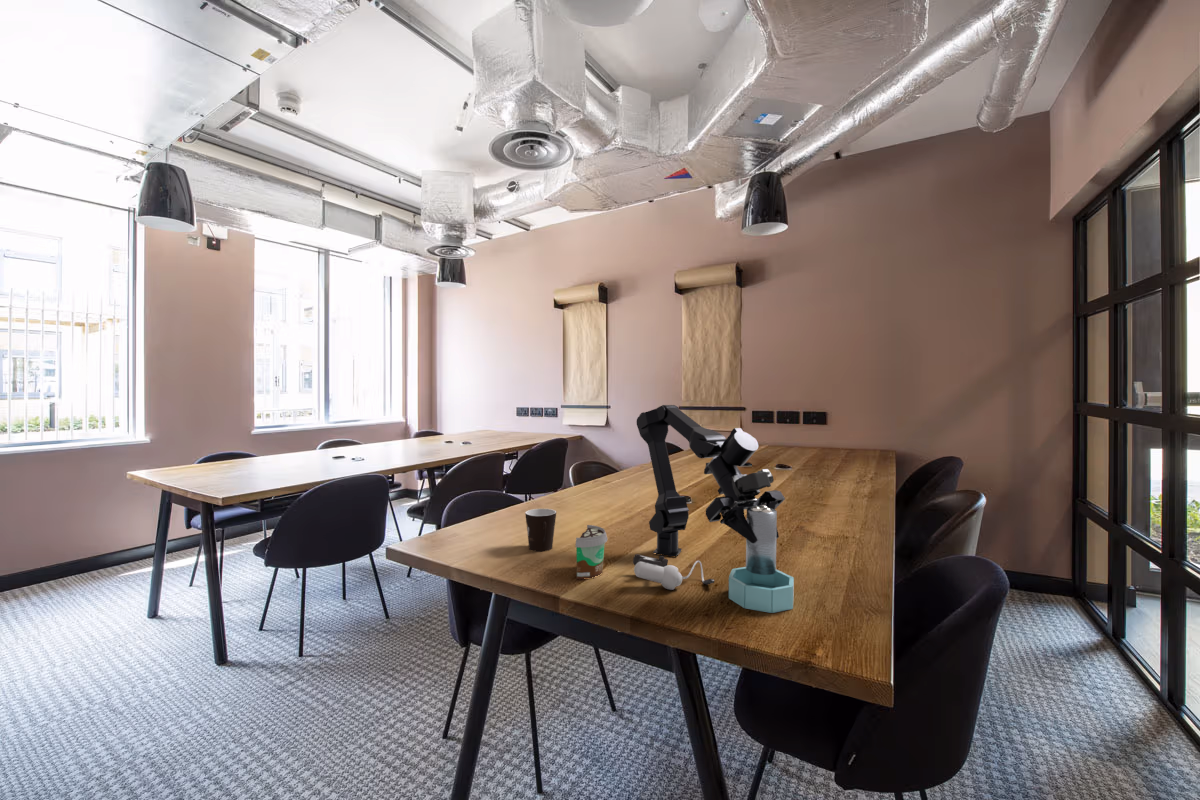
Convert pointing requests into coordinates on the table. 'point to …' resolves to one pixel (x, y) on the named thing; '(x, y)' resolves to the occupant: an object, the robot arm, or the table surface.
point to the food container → (590, 552)
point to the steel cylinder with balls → (762, 540)
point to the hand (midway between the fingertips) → (766, 540)
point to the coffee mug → (540, 529)
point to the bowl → (761, 590)
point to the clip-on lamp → (661, 571)
